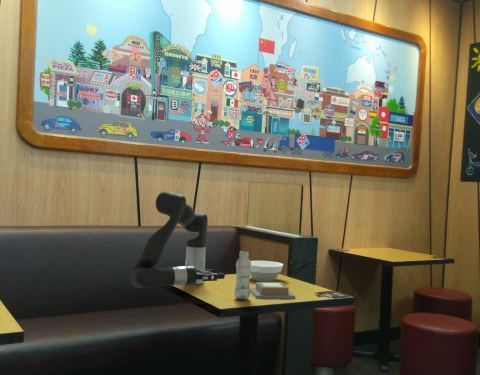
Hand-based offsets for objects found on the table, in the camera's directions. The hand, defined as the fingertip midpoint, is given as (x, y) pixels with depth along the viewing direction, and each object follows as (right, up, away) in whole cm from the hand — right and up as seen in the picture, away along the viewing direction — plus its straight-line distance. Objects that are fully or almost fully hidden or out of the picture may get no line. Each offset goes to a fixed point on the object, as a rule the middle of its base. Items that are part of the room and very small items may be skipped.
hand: (219, 273), depth 206 cm
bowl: (+20, -12, +53) cm, 58 cm away
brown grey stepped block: (+22, -12, +18) cm, 31 cm away
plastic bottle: (+9, -12, +5) cm, 16 cm away
